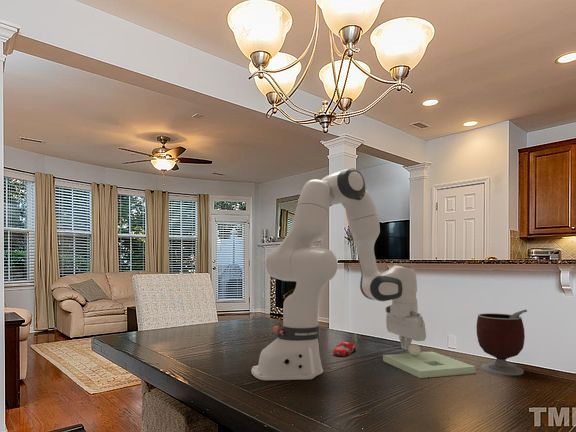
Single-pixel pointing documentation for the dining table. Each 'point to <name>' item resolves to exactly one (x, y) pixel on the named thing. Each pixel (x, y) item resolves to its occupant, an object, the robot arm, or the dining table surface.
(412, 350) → the ball
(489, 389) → the dining table surface
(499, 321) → the mate gourd
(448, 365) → the mat
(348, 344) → the race car
